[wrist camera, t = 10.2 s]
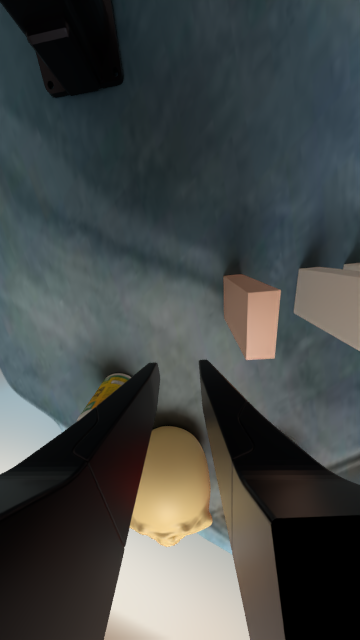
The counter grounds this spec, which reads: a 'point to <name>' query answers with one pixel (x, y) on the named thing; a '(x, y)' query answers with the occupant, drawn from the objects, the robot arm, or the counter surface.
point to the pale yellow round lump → (172, 488)
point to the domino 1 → (252, 315)
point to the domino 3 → (352, 267)
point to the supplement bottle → (105, 391)
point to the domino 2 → (330, 301)
